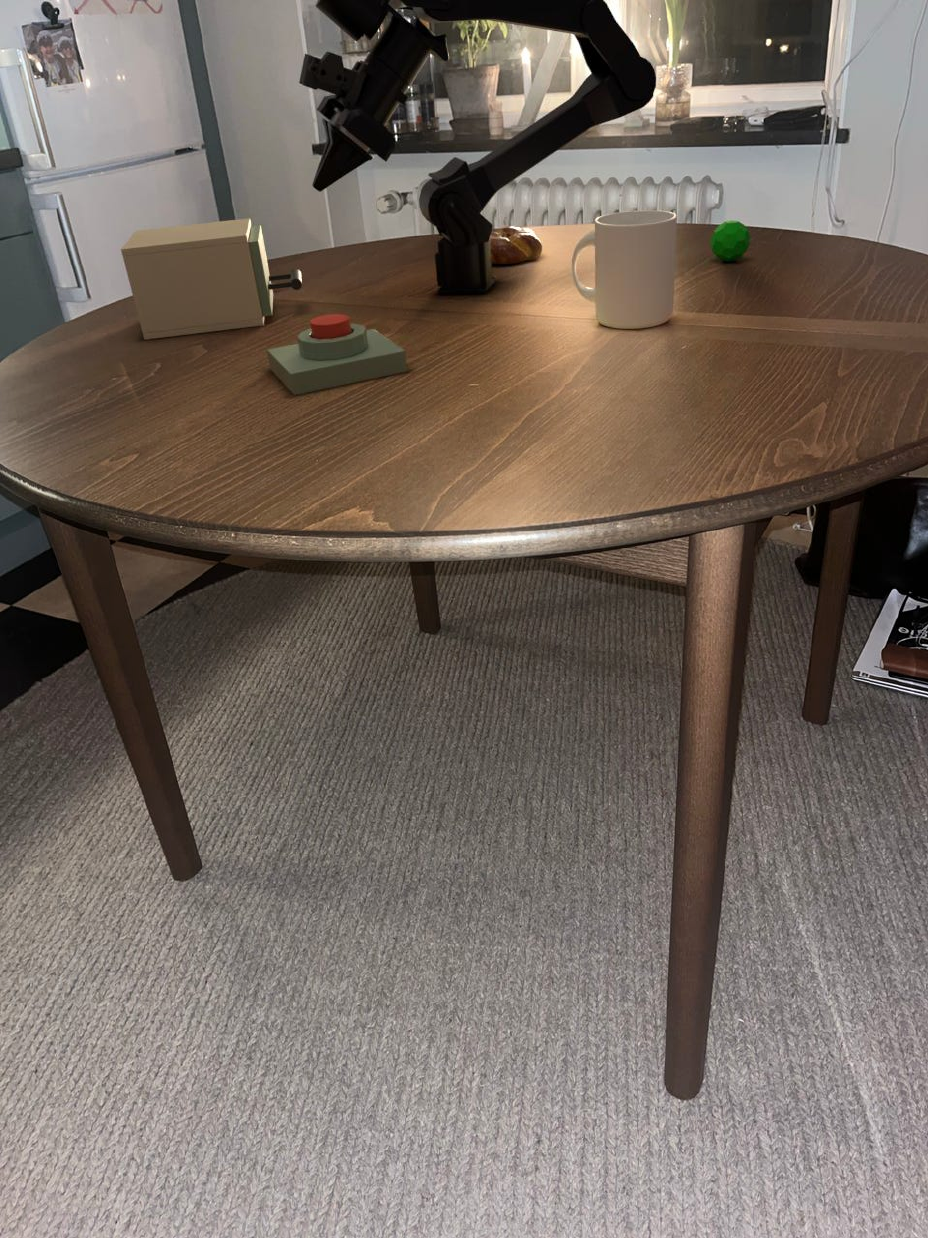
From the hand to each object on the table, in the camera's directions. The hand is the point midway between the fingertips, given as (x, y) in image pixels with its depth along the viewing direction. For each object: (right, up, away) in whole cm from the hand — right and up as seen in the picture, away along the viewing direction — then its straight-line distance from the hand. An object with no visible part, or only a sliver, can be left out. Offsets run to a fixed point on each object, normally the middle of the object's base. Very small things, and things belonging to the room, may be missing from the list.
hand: (315, 188), depth 114 cm
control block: (+5, -26, -16) cm, 31 cm away
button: (+5, -23, -18) cm, 30 cm away
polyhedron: (+54, -4, +12) cm, 55 cm away
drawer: (-11, -12, +7) cm, 18 cm away
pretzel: (+24, +1, +25) cm, 34 cm away
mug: (+36, -18, -7) cm, 41 cm away
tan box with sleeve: (-15, -14, +7) cm, 21 cm away
